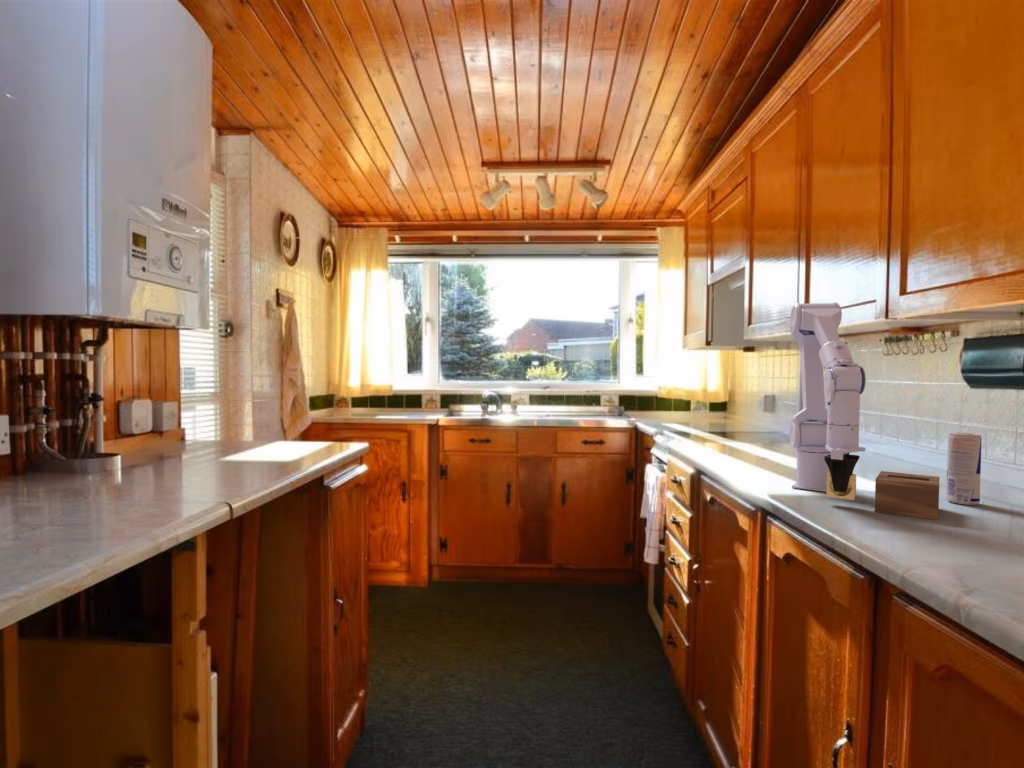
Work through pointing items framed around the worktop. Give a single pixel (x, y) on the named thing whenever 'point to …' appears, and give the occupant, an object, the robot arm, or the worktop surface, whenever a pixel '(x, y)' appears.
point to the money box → (907, 494)
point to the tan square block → (848, 495)
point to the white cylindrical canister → (963, 468)
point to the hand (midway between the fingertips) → (841, 490)
